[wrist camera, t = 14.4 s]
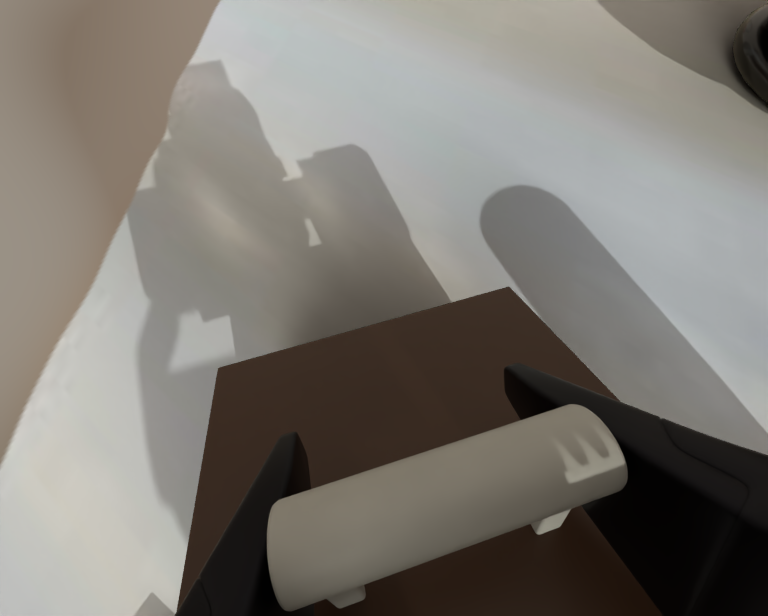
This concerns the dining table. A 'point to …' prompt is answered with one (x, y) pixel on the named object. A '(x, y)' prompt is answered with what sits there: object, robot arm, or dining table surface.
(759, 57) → the amphora vase
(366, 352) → the lid
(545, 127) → the dining table surface
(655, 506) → the robot arm
